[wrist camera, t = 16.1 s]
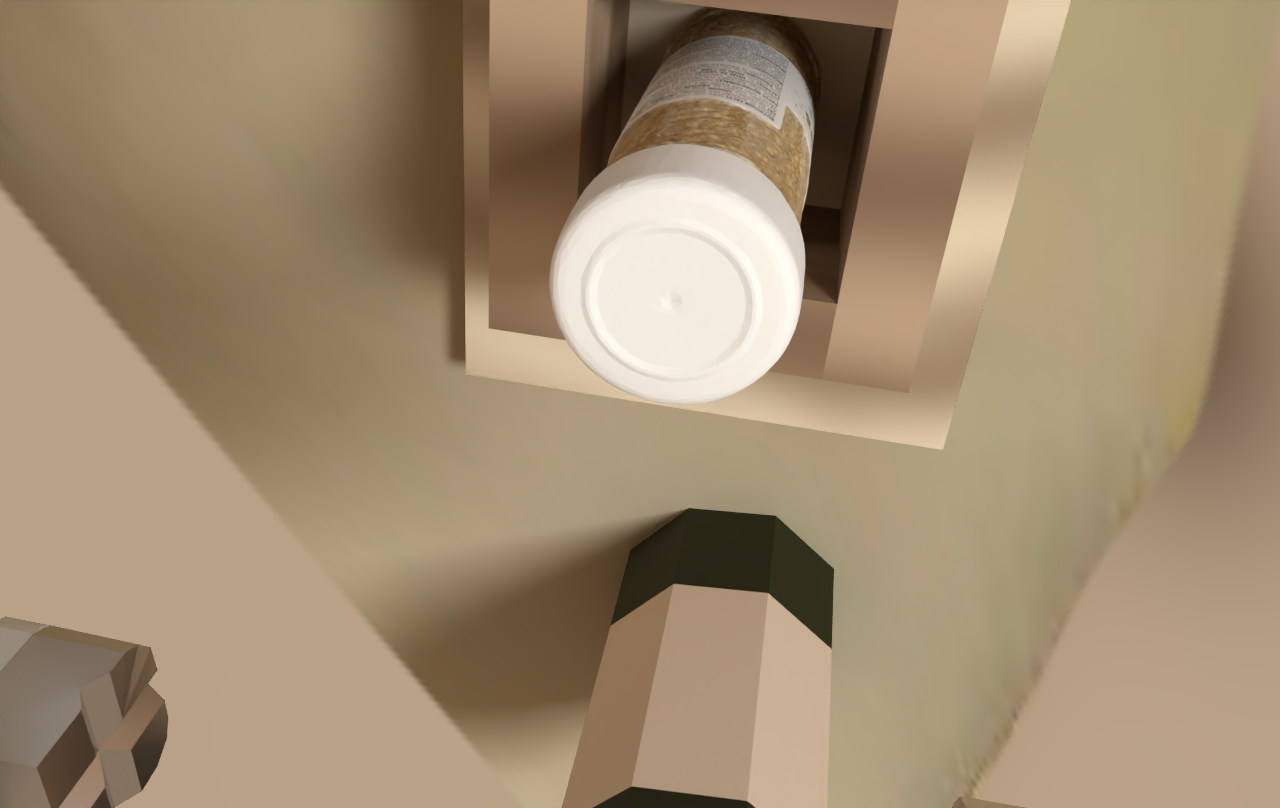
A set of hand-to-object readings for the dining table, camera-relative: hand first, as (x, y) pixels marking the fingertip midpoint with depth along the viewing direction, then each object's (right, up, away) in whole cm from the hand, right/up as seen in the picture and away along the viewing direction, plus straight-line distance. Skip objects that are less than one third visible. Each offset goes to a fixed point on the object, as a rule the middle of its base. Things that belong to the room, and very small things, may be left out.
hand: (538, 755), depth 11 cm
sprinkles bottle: (+4, +13, +20) cm, 24 cm away
